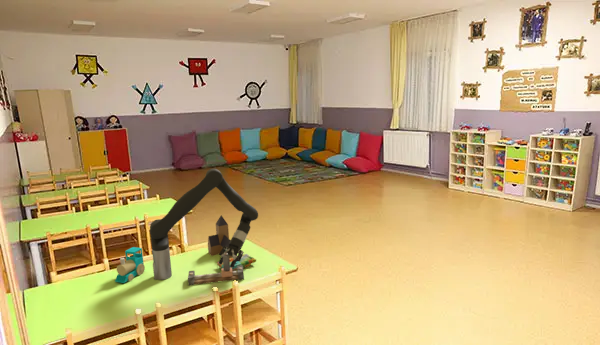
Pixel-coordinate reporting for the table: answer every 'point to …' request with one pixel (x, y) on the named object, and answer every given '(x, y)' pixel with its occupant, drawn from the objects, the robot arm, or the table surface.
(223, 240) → the toy building blocks
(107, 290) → the table surface
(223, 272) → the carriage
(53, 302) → the table surface
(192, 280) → the rail bed
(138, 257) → the toy train
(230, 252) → the robot arm
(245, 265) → the puzzle game
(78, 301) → the table surface
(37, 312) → the table surface
